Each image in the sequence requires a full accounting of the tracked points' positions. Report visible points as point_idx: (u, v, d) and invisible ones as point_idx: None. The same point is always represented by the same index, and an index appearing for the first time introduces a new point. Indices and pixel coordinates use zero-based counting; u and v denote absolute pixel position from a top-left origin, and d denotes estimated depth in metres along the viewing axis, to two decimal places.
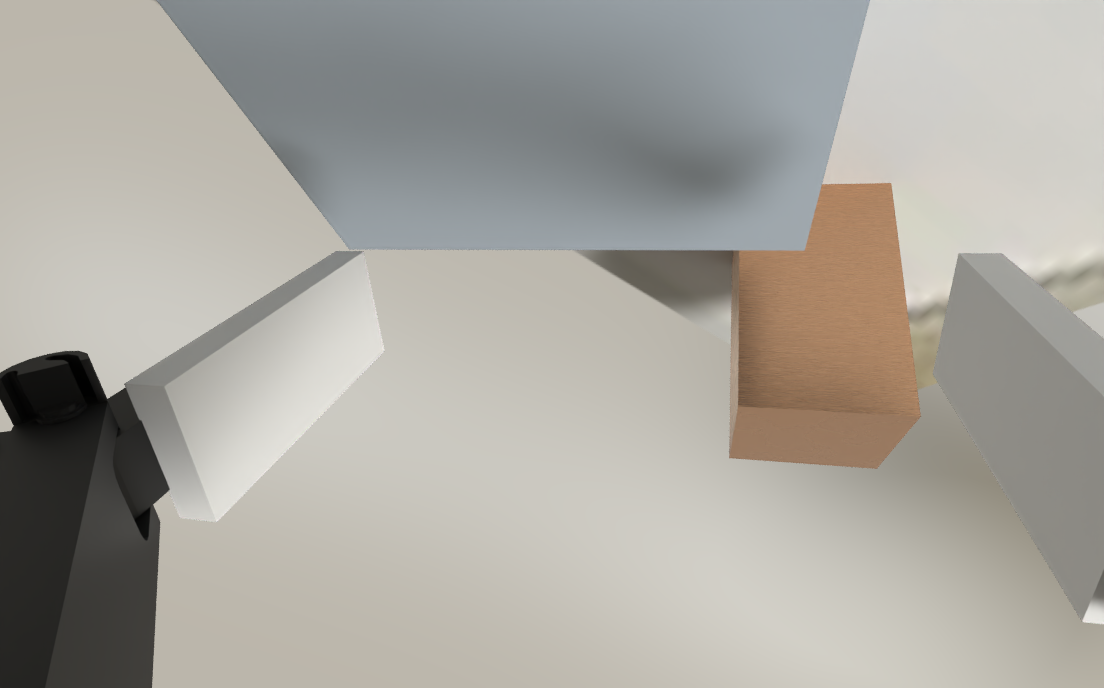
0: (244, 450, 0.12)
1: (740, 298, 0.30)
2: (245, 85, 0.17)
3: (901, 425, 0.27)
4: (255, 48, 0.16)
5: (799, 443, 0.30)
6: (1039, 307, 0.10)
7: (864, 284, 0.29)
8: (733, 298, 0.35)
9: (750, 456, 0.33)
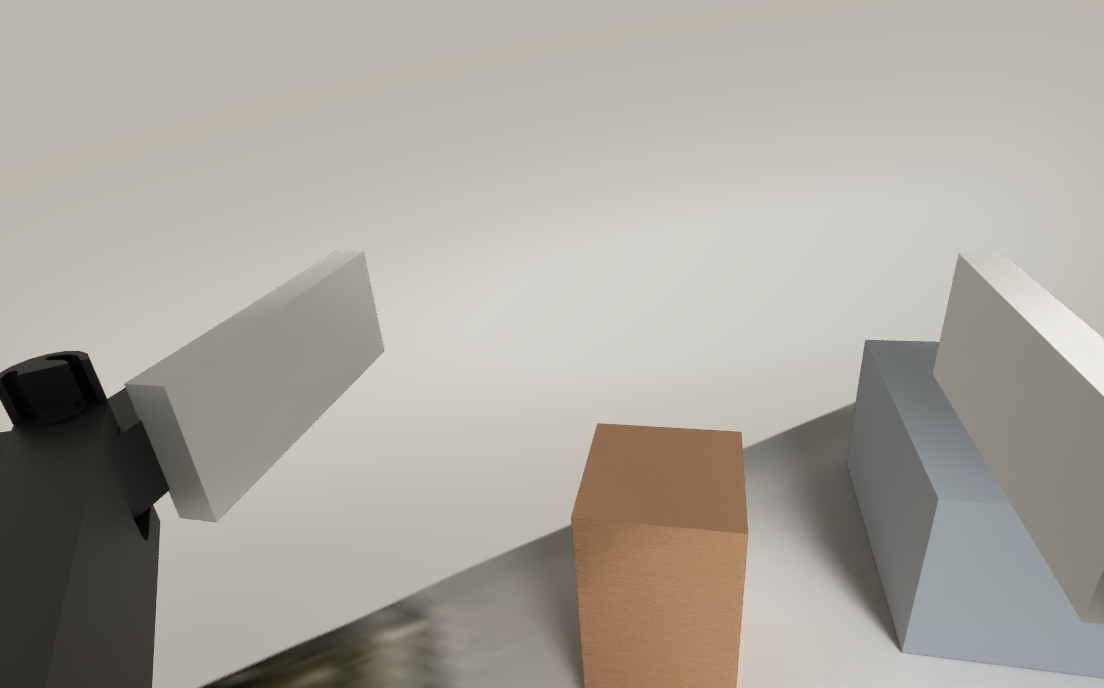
0: (244, 450, 0.12)
1: None
2: None
3: (719, 524, 0.26)
4: None
5: (650, 464, 0.29)
6: (1039, 307, 0.10)
7: None
8: None
9: (602, 435, 0.32)
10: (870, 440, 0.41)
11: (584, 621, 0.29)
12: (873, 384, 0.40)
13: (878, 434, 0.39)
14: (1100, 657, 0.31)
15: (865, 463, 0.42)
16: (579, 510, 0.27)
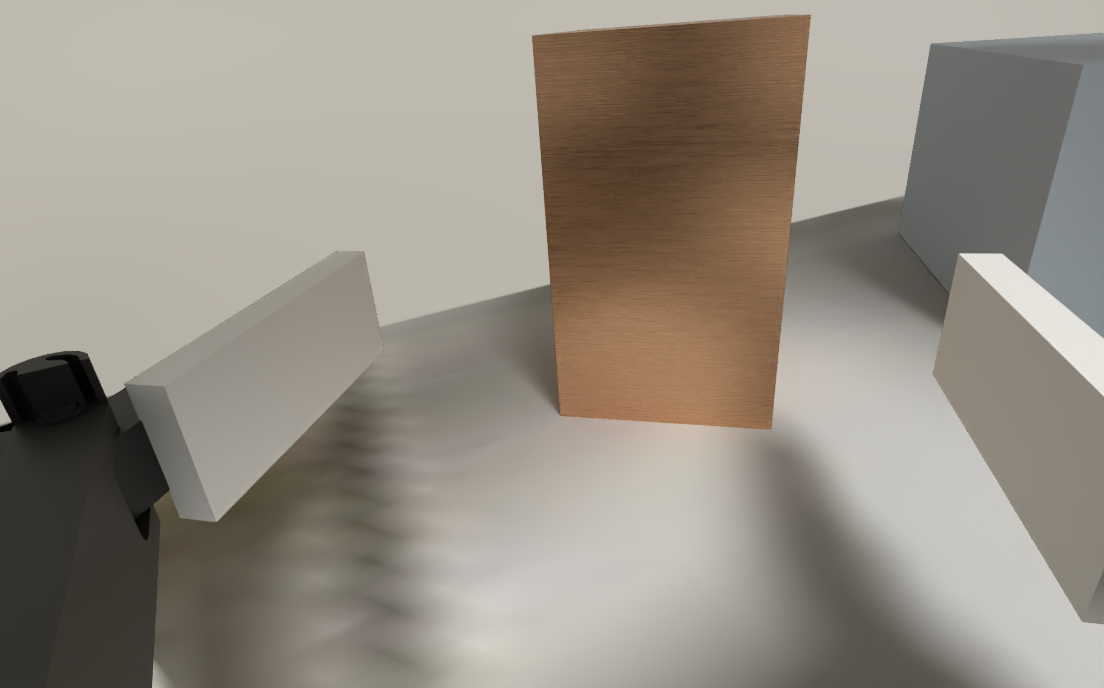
0: (244, 450, 0.12)
1: None
2: None
3: None
4: None
5: None
6: (1039, 307, 0.10)
7: None
8: None
9: None
10: (940, 154, 0.31)
11: (555, 252, 0.20)
12: (945, 78, 0.31)
13: (956, 128, 0.29)
14: None
15: (931, 193, 0.32)
16: (545, 34, 0.18)
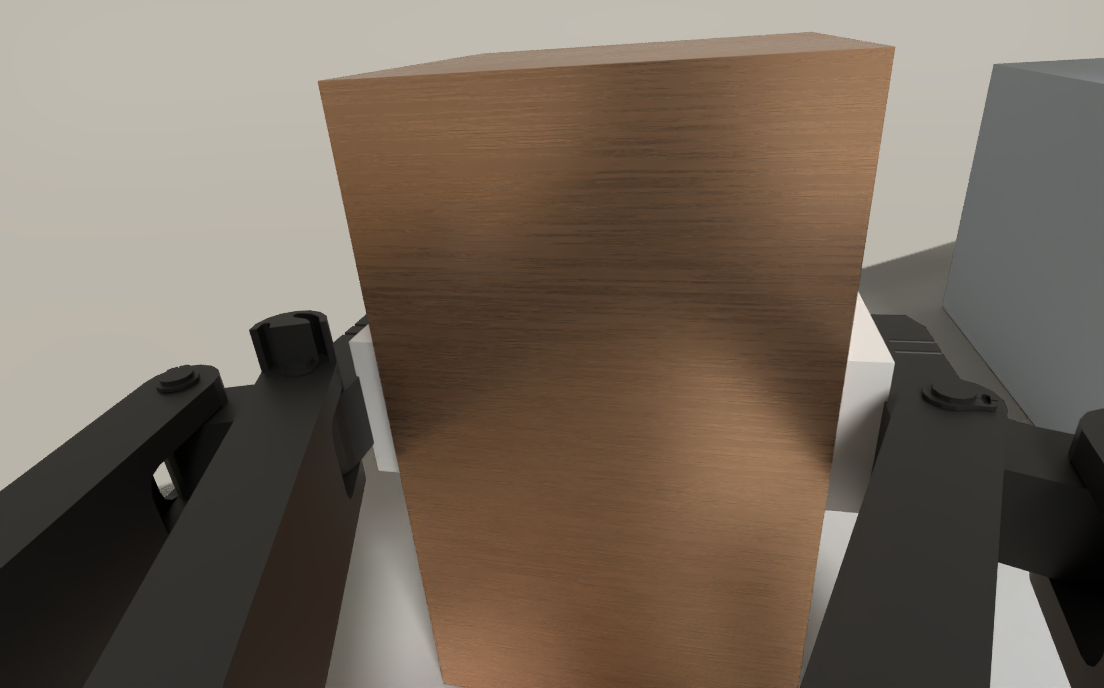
0: None
1: None
2: None
3: (786, 50, 0.08)
4: None
5: (586, 52, 0.11)
6: None
7: None
8: None
9: (486, 54, 0.14)
10: (1013, 219, 0.23)
11: (408, 456, 0.11)
12: (1021, 114, 0.22)
13: (1042, 187, 0.21)
14: None
15: (998, 269, 0.24)
16: (352, 76, 0.09)
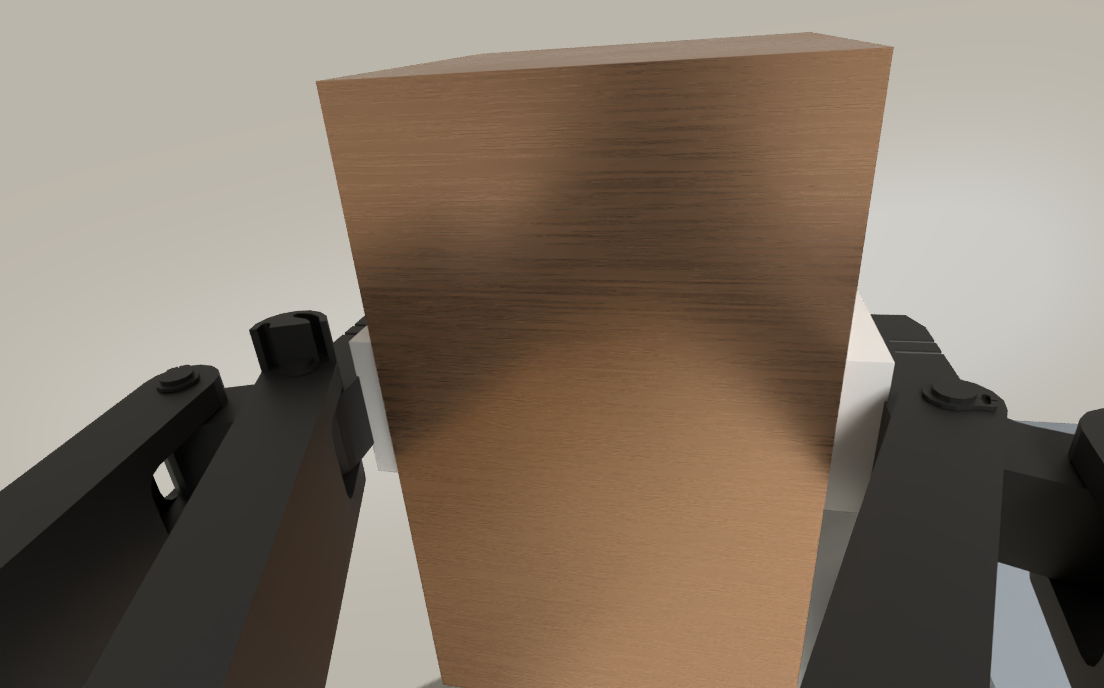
0: None
1: None
2: (1067, 431, 0.29)
3: (784, 51, 0.08)
4: None
5: (584, 52, 0.11)
6: None
7: None
8: None
9: (485, 55, 0.14)
10: None
11: (407, 457, 0.11)
12: None
13: None
14: None
15: None
16: (351, 76, 0.09)
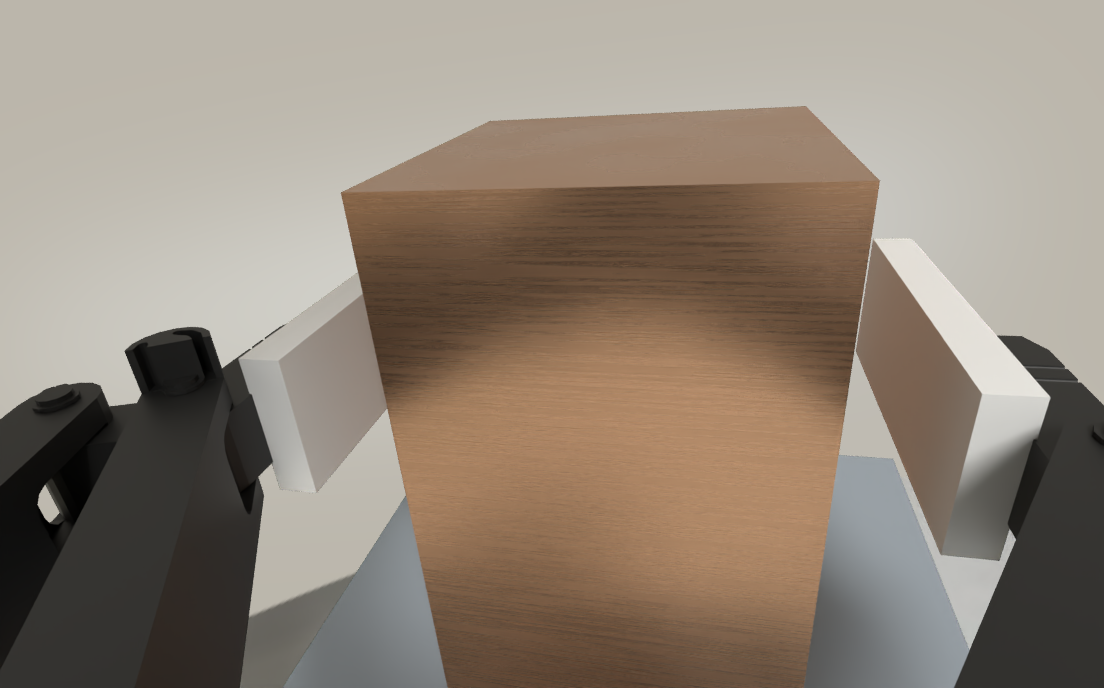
0: (338, 425, 0.12)
1: None
2: None
3: (779, 174, 0.08)
4: None
5: (589, 137, 0.12)
6: (927, 284, 0.11)
7: None
8: None
9: (494, 126, 0.14)
10: None
11: (424, 524, 0.12)
12: None
13: None
14: None
15: None
16: (373, 184, 0.09)
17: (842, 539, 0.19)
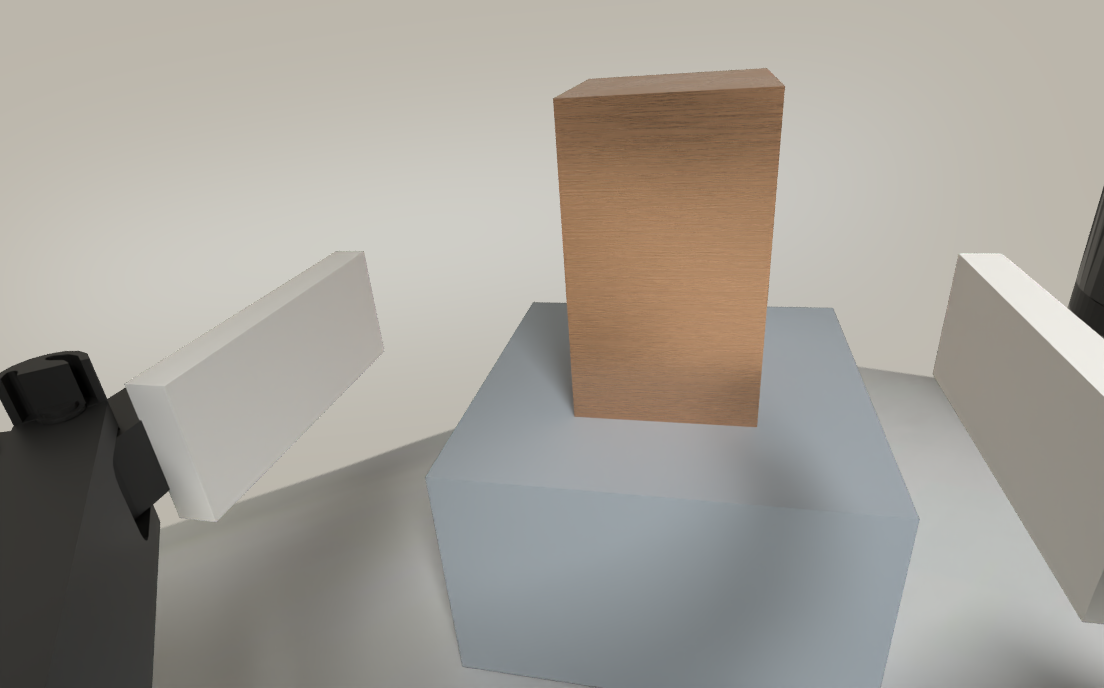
0: (244, 450, 0.12)
1: None
2: None
3: (746, 86, 0.20)
4: None
5: (654, 81, 0.23)
6: (1039, 307, 0.10)
7: None
8: None
9: (595, 80, 0.26)
10: None
11: (571, 277, 0.23)
12: None
13: None
14: (663, 674, 0.25)
15: None
16: (564, 96, 0.21)
17: (795, 342, 0.30)
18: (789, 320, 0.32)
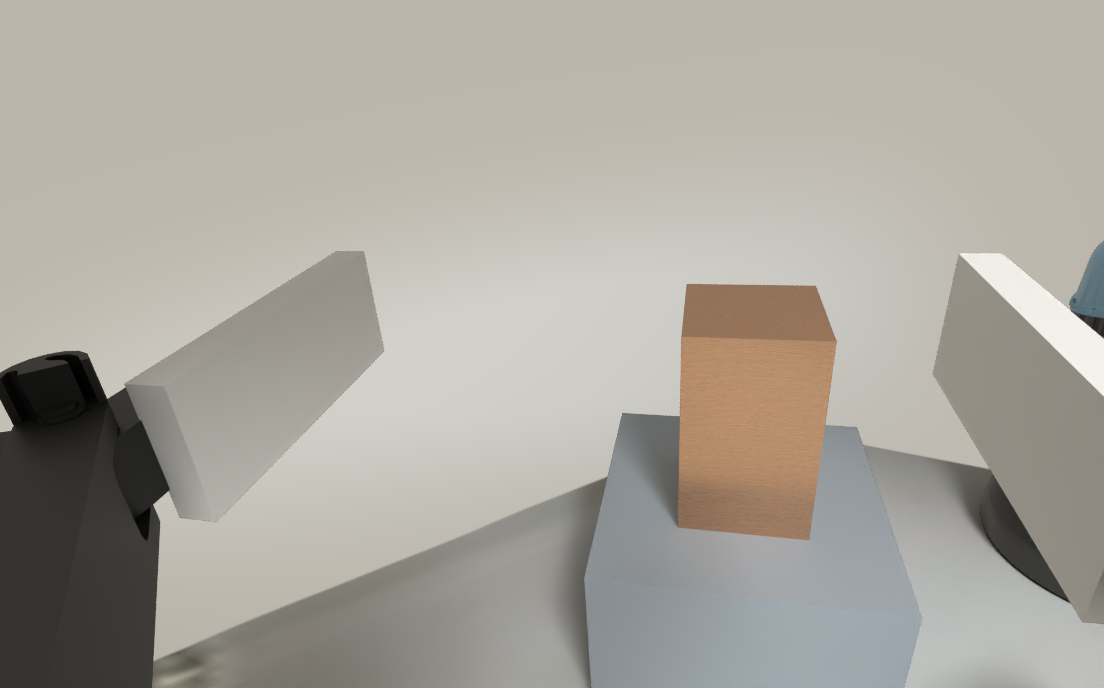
0: (244, 450, 0.12)
1: None
2: None
3: (810, 336, 0.30)
4: None
5: (740, 305, 0.34)
6: (1039, 307, 0.10)
7: None
8: None
9: (693, 290, 0.36)
10: None
11: (683, 440, 0.34)
12: None
13: None
14: None
15: None
16: (687, 332, 0.32)
17: (830, 461, 0.41)
18: (824, 439, 0.43)
